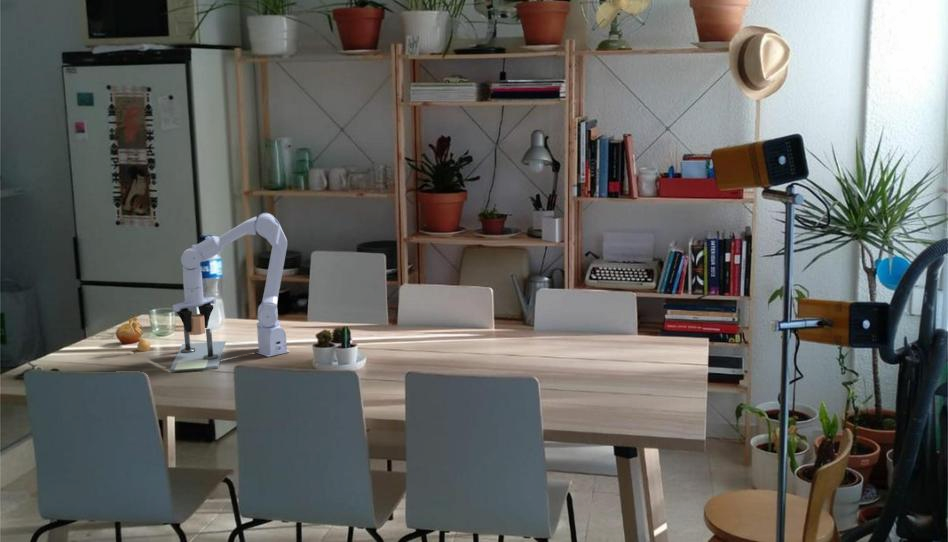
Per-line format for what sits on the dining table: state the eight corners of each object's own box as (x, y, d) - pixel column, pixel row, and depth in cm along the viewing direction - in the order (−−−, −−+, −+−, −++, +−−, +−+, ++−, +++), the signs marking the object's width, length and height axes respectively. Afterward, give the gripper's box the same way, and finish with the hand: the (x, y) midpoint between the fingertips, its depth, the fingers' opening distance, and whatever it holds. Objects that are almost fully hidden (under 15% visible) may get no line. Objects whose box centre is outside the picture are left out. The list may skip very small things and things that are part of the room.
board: (182, 346, 335) (182, 343, 335) (226, 343, 337) (225, 341, 337) (170, 371, 306) (169, 369, 306) (217, 368, 308) (217, 365, 308)
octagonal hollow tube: (204, 330, 323) (202, 313, 322) (206, 333, 319) (204, 316, 318) (187, 332, 322) (186, 315, 321) (189, 335, 317) (188, 318, 316)
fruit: (148, 335, 346) (141, 318, 341) (141, 352, 340) (134, 335, 335) (125, 335, 347) (118, 318, 341) (117, 352, 341) (110, 335, 336)
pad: (178, 362, 314) (178, 361, 314) (208, 360, 315) (208, 359, 315) (174, 370, 305) (174, 369, 305) (205, 368, 306) (205, 367, 306)
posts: (178, 351, 326) (176, 323, 324) (190, 348, 329) (188, 320, 327) (208, 360, 314) (206, 331, 313) (220, 357, 318) (218, 328, 316)
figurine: (146, 355, 325) (143, 319, 323) (127, 356, 325) (124, 319, 323) (154, 348, 333) (151, 313, 331) (136, 349, 333) (132, 313, 331)
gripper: (205, 281, 325) (208, 323, 328) (165, 289, 315) (169, 332, 317) (218, 284, 321) (221, 326, 323) (178, 292, 310) (182, 335, 313)
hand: (196, 329), depth 320 cm, fingers closed on octagonal hollow tube, 5 cm apart
